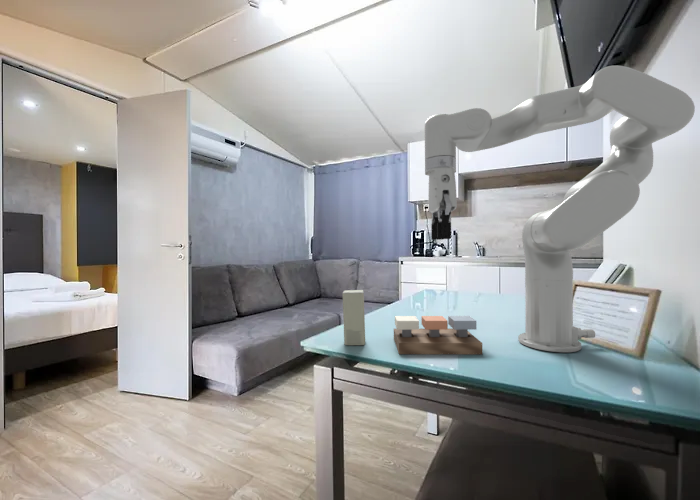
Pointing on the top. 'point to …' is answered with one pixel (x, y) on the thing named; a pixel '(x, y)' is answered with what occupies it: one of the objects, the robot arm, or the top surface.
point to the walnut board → (436, 343)
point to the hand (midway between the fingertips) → (440, 238)
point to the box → (353, 317)
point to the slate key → (462, 324)
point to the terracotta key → (434, 324)
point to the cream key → (406, 324)
